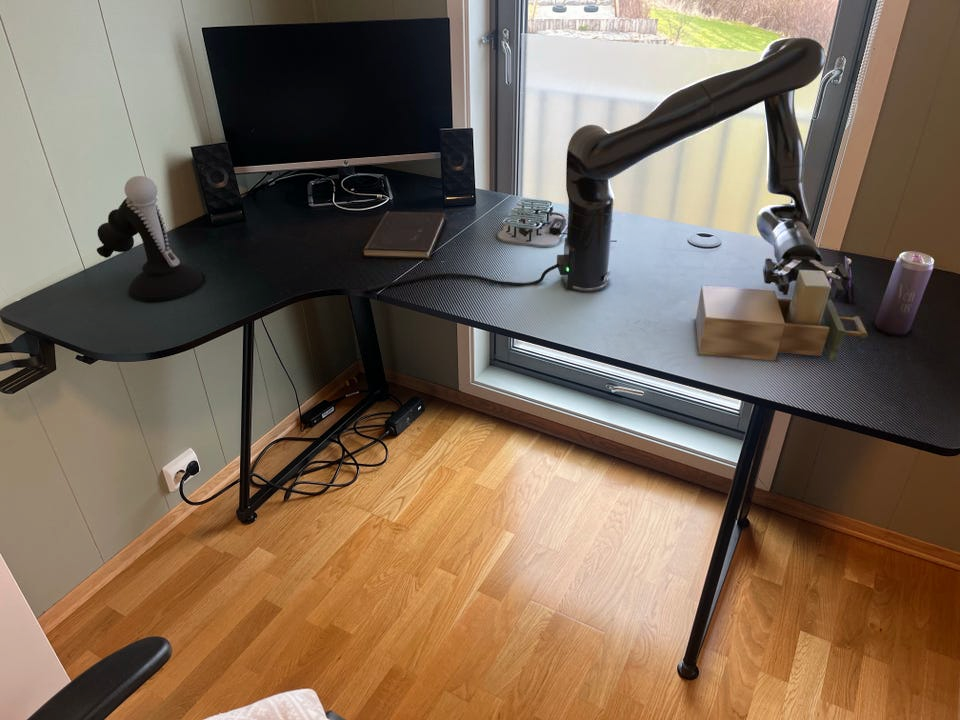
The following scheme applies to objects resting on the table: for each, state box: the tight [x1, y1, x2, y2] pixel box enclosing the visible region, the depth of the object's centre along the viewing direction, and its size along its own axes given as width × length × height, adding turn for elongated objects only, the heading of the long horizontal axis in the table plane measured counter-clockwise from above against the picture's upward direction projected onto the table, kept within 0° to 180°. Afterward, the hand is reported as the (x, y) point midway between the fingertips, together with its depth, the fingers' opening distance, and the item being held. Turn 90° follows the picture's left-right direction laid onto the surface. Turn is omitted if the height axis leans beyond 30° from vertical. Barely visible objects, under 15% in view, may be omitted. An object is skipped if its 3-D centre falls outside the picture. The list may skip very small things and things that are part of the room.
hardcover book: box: [362, 210, 446, 260], centre depth 174 cm, size 16×23×2 cm
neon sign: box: [497, 198, 618, 248], centre depth 175 cm, size 21×4×29 cm
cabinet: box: [695, 284, 785, 362], centre depth 131 cm, size 13×12×8 cm
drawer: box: [777, 297, 869, 361], centre depth 128 cm, size 17×11×6 cm, turn 79°
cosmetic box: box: [785, 270, 831, 326], centre depth 127 cm, size 6×4×12 cm
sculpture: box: [96, 175, 204, 303], centre depth 151 cm, size 15×24×25 cm, turn 71°
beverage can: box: [874, 250, 935, 336], centre depth 131 cm, size 6×6×15 cm
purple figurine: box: [829, 255, 852, 304], centre depth 146 cm, size 7×5×9 cm
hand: (811, 292), depth 123 cm, fingers open, 8 cm apart
